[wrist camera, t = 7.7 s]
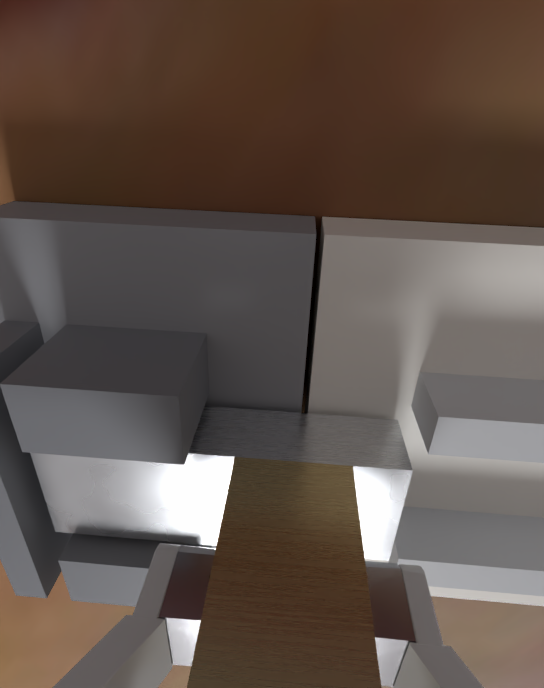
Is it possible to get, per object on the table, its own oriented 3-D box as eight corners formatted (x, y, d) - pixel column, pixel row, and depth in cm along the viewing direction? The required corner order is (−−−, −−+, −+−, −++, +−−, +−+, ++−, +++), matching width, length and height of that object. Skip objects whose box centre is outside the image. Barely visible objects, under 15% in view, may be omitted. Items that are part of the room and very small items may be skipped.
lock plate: (806, 241, 11) (1116, 322, 7) (596, 565, 18) (688, 709, 14) (13, 201, 12) (-145, 249, 8) (94, 522, 19) (31, 643, 15)
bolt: (397, 419, 12) (485, 720, 6) (378, 504, 14) (433, 805, 8) (64, 395, 13) (-156, 654, 7) (85, 481, 15) (-74, 748, 8)
